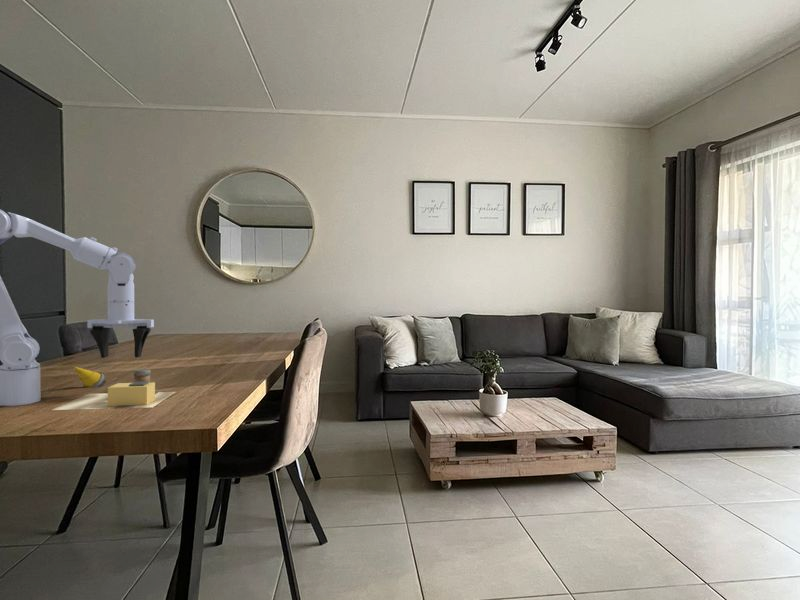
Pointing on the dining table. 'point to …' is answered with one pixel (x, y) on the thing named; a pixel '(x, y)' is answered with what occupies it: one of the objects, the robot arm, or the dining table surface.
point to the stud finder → (131, 393)
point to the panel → (102, 402)
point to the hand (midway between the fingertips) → (121, 357)
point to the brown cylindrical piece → (142, 375)
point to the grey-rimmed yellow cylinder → (90, 378)
